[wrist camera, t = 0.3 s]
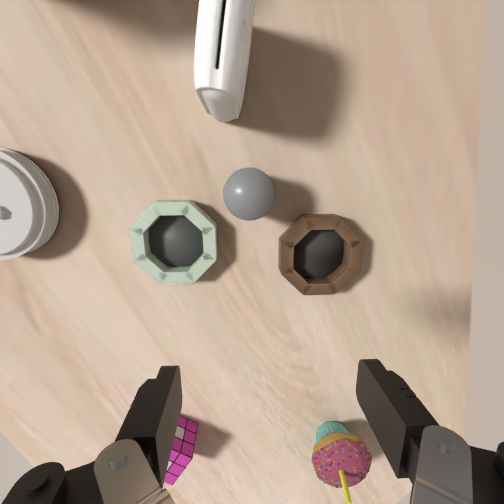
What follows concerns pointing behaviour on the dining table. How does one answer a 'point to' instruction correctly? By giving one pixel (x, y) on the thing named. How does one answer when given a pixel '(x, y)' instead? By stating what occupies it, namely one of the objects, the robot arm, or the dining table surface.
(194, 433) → the puzzle toy
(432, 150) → the dining table surface
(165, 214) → the sage ring
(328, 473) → the cupcake
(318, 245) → the walnut ring
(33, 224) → the lid
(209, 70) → the photo printer
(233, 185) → the cap
